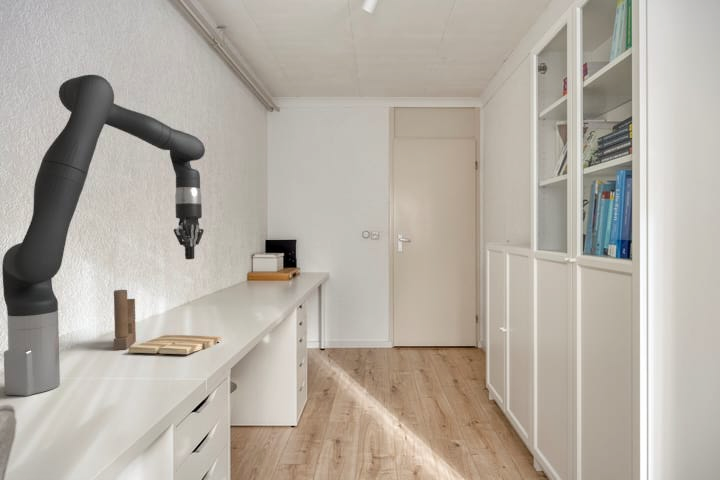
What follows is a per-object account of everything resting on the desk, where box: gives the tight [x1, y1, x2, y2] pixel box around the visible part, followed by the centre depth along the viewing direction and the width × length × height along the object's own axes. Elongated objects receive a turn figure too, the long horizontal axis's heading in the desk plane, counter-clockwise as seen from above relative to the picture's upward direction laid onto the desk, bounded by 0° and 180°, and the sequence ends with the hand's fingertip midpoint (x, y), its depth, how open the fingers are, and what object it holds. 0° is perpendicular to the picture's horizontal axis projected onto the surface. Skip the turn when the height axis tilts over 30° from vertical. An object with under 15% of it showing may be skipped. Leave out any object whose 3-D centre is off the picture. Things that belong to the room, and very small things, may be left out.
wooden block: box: [113, 289, 137, 351], centre depth 138 cm, size 4×11×18 cm, turn 13°
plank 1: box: [128, 341, 173, 354], centre depth 131 cm, size 8×9×2 cm
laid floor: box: [146, 334, 222, 350], centre depth 139 cm, size 10×20×2 cm, turn 79°
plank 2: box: [158, 343, 203, 355], centre depth 129 cm, size 8×9×2 cm
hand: (190, 259), depth 136 cm, fingers closed
